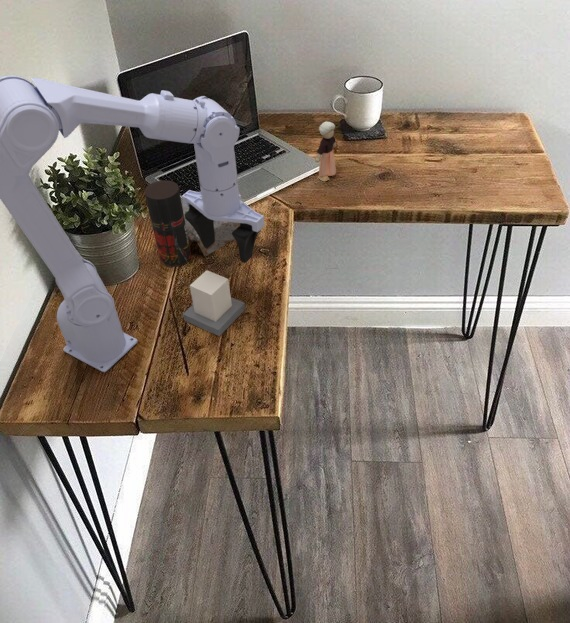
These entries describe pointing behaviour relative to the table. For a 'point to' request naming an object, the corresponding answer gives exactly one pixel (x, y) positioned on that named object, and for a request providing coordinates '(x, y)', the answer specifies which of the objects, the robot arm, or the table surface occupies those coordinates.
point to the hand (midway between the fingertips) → (227, 251)
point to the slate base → (221, 323)
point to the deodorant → (168, 223)
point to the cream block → (211, 295)
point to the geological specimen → (221, 234)
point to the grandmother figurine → (326, 152)
